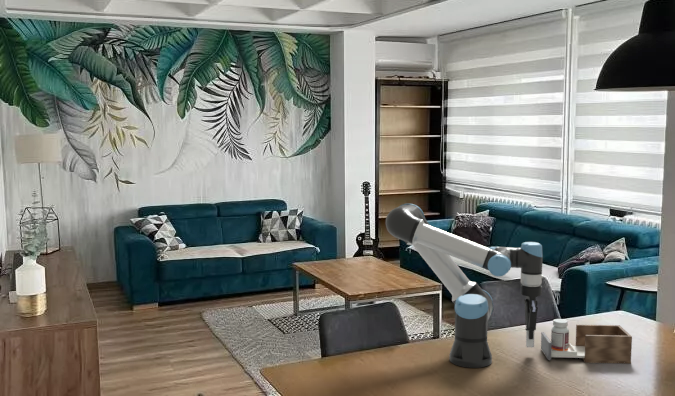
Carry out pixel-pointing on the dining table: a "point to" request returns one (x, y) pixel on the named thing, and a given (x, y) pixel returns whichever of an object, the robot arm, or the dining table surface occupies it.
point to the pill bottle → (560, 335)
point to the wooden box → (604, 343)
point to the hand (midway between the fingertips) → (530, 346)
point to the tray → (571, 353)
